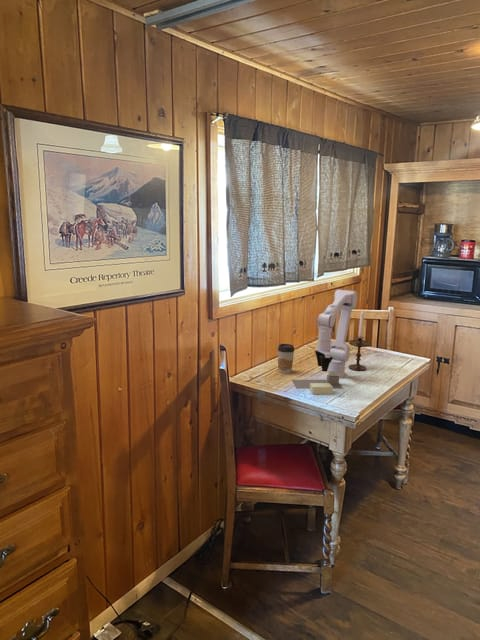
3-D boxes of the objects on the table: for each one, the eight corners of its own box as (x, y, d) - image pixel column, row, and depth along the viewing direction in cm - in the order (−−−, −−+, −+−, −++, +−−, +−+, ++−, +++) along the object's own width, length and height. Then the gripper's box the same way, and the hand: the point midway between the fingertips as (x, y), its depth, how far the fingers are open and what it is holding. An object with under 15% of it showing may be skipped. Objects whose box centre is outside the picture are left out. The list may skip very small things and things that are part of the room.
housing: (291, 382, 234) (291, 371, 233) (335, 382, 236) (336, 371, 235) (296, 391, 222) (296, 380, 221) (343, 391, 224) (344, 380, 223)
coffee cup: (274, 375, 243) (275, 346, 240) (279, 370, 251) (280, 342, 247) (290, 378, 240) (292, 348, 237) (294, 373, 248) (296, 344, 244)
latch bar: (328, 374, 229) (328, 371, 229) (343, 374, 230) (343, 371, 229) (329, 375, 227) (329, 372, 227) (344, 376, 228) (344, 372, 228)
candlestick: (352, 372, 253) (358, 305, 245) (343, 365, 263) (349, 301, 255) (371, 371, 255) (377, 305, 247) (362, 365, 265) (368, 301, 258)
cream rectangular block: (309, 391, 220) (309, 383, 219) (328, 391, 221) (329, 383, 221) (312, 395, 215) (312, 387, 215) (332, 395, 217) (332, 386, 216)
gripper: (312, 335, 227) (310, 363, 230) (319, 343, 213) (317, 373, 215) (326, 335, 227) (324, 363, 230) (335, 344, 213) (333, 373, 216)
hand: (322, 368), depth 223 cm, fingers open, 7 cm apart
